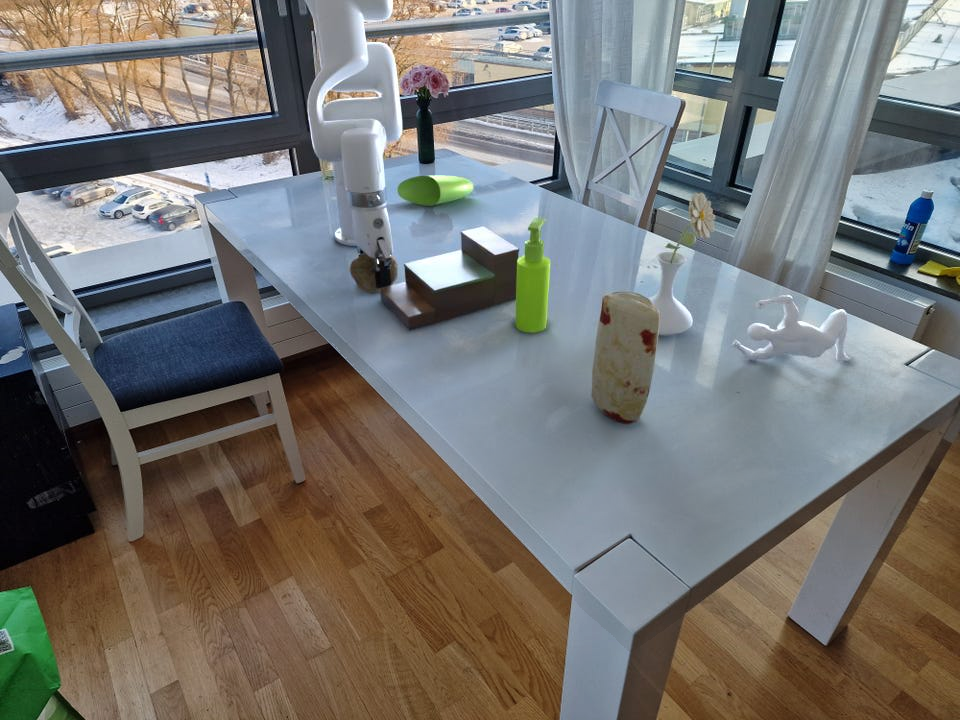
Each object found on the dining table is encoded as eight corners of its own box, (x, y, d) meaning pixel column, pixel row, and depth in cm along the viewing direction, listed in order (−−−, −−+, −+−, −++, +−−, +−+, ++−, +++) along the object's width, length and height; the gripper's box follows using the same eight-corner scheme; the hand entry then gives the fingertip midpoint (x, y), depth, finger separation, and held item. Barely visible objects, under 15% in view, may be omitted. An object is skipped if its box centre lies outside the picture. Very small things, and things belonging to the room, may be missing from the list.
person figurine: (818, 278, 110) (762, 289, 100) (883, 322, 103) (830, 339, 93) (778, 336, 118) (722, 352, 108) (835, 380, 111) (781, 402, 101)
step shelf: (381, 301, 127) (375, 250, 121) (483, 274, 137) (483, 226, 131) (409, 331, 117) (405, 277, 111) (517, 299, 127) (519, 248, 121)
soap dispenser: (551, 317, 121) (557, 217, 110) (542, 335, 116) (548, 232, 105) (521, 312, 123) (525, 213, 112) (511, 329, 117) (514, 228, 106)
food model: (578, 406, 98) (590, 292, 87) (606, 389, 102) (620, 277, 90) (628, 437, 92) (648, 318, 81) (656, 418, 95) (679, 302, 84)
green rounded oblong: (415, 179, 162) (482, 172, 171) (396, 175, 172) (460, 169, 181) (417, 210, 165) (483, 202, 174) (398, 205, 174) (461, 197, 184)
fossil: (342, 262, 128) (382, 240, 132) (340, 271, 132) (379, 249, 136) (368, 298, 128) (407, 274, 132) (365, 305, 132) (403, 282, 136)
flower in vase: (656, 347, 112) (680, 212, 98) (616, 319, 120) (633, 190, 107) (710, 329, 117) (741, 198, 103) (668, 303, 125) (692, 179, 112)
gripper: (403, 206, 117) (409, 290, 127) (367, 181, 130) (376, 259, 140) (365, 214, 114) (375, 299, 124) (333, 187, 127) (343, 267, 137)
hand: (375, 278), depth 132 cm, fingers open, 7 cm apart
